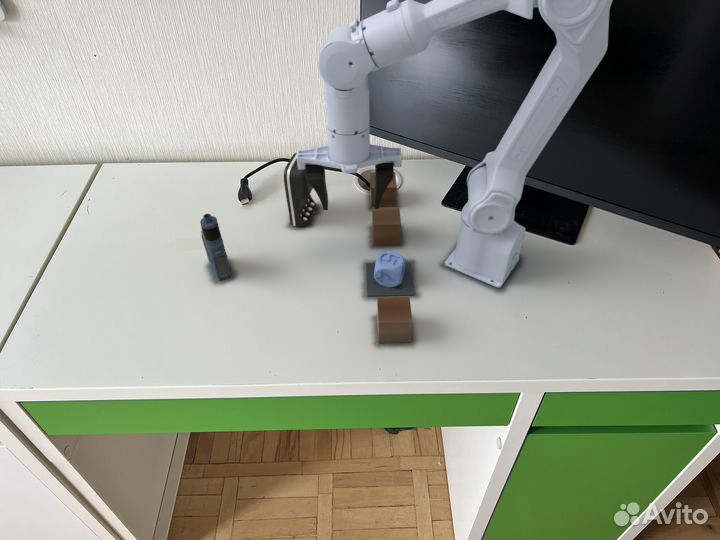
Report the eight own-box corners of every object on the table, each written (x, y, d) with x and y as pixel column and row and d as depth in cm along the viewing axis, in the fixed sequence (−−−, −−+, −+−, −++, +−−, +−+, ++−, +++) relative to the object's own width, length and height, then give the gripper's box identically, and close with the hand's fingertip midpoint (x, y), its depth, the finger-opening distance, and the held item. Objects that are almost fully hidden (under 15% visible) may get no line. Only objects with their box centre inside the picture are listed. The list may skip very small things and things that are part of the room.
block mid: (400, 245, 88) (401, 224, 84) (373, 245, 88) (373, 225, 84) (398, 227, 91) (399, 206, 88) (372, 228, 91) (372, 207, 88)
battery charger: (310, 230, 91) (304, 174, 83) (289, 227, 91) (281, 171, 83) (322, 205, 95) (317, 150, 87) (302, 202, 96) (295, 147, 88)
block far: (396, 207, 95) (397, 187, 92) (371, 208, 95) (370, 187, 92) (394, 192, 98) (395, 172, 95) (370, 193, 98) (370, 172, 95)
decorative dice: (399, 289, 80) (400, 271, 77) (373, 285, 81) (373, 266, 78) (405, 271, 83) (406, 253, 80) (380, 267, 84) (380, 248, 81)
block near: (410, 342, 73) (412, 321, 70) (378, 343, 73) (378, 322, 70) (408, 317, 77) (409, 296, 73) (376, 318, 77) (377, 297, 73)
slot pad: (414, 295, 80) (414, 294, 80) (367, 296, 80) (367, 295, 80) (410, 263, 85) (410, 262, 84) (366, 264, 85) (366, 263, 84)
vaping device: (218, 283, 82) (200, 223, 74) (208, 262, 85) (190, 203, 77) (234, 277, 83) (218, 218, 74) (224, 257, 86) (208, 198, 78)
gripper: (291, 141, 68) (301, 223, 77) (405, 138, 68) (401, 221, 77) (295, 114, 73) (304, 194, 82) (401, 111, 73) (397, 192, 82)
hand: (351, 205), depth 80 cm, fingers open, 7 cm apart
